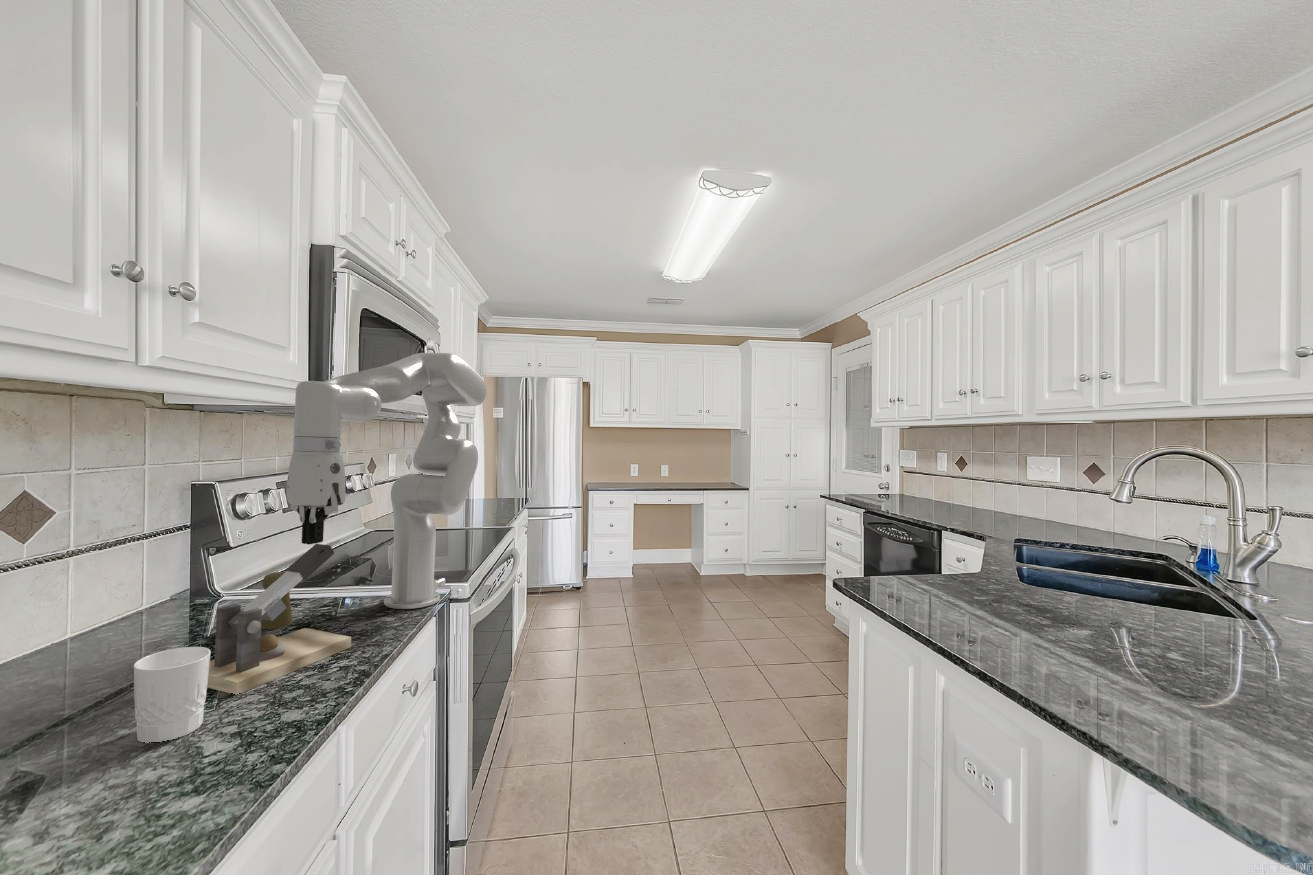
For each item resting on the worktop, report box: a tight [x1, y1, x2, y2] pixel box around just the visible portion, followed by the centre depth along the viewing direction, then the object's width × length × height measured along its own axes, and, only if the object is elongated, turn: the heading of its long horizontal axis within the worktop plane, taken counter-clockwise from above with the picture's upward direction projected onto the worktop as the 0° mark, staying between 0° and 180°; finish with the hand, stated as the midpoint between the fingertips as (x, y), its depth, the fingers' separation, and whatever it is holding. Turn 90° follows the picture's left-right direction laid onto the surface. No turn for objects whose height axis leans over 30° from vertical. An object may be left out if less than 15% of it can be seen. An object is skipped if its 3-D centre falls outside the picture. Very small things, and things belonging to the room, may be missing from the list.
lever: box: [228, 543, 335, 629], centre depth 97 cm, size 19×4×4 cm
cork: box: [261, 571, 294, 630], centre depth 114 cm, size 6×6×11 cm
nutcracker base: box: [207, 603, 352, 696], centre depth 96 cm, size 21×12×12 cm, turn 162°
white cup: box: [133, 646, 212, 744], centre depth 74 cm, size 8×8×10 cm
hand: (312, 542), depth 102 cm, fingers closed
